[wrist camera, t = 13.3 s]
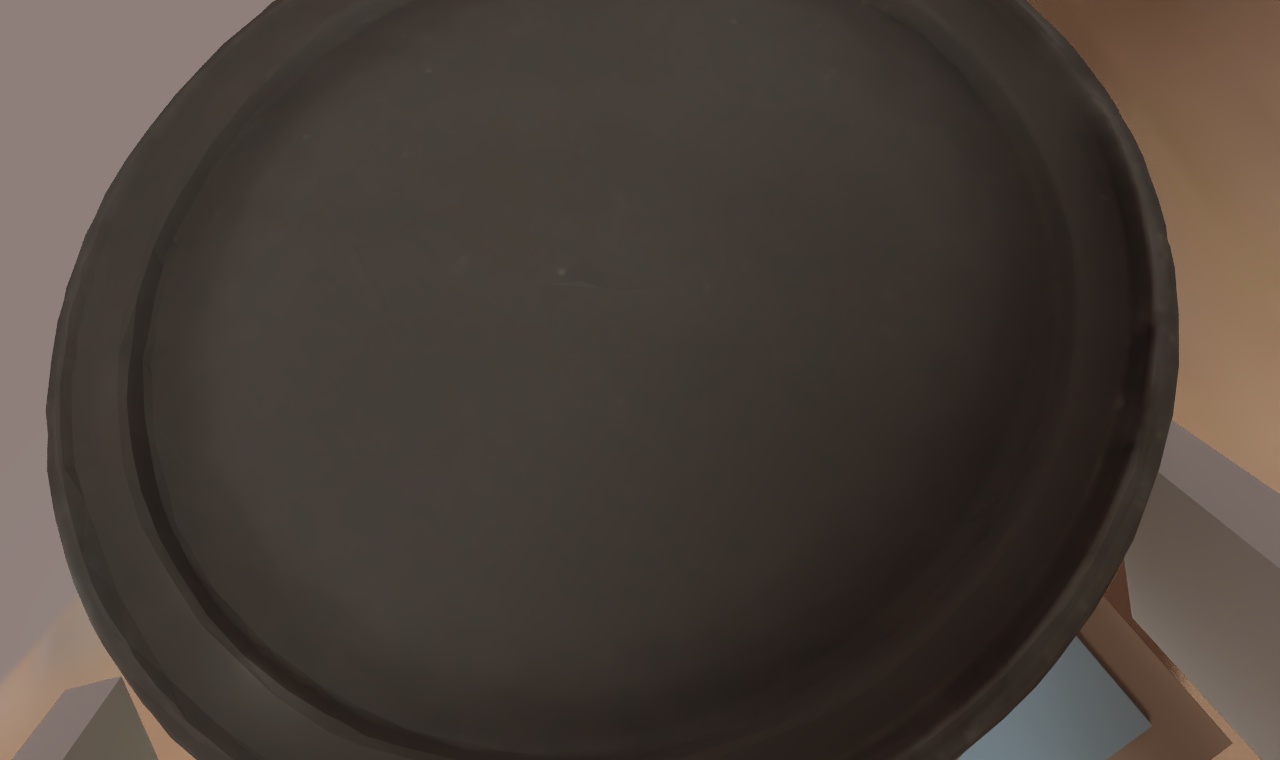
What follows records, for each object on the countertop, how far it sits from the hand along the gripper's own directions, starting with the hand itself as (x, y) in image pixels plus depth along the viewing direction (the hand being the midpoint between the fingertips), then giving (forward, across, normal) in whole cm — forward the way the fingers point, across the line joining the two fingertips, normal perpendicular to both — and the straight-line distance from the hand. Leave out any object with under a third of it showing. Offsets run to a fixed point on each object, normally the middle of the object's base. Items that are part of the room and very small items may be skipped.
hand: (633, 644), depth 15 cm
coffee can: (+7, +1, -4) cm, 8 cm away
